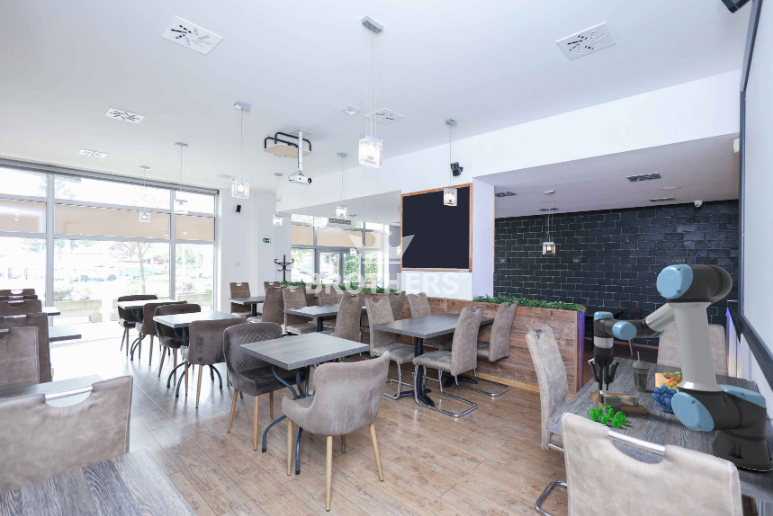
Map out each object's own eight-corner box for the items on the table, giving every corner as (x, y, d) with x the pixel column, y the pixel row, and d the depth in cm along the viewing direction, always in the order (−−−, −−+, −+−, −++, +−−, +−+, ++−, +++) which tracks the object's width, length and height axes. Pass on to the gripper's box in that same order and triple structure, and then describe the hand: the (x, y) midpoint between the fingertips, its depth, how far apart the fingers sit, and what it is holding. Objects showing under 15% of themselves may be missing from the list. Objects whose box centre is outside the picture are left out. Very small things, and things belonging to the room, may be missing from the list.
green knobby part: (593, 411, 165) (593, 396, 165) (632, 422, 155) (632, 405, 155) (582, 422, 155) (582, 405, 155) (623, 434, 144) (623, 416, 144)
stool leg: (636, 403, 166) (636, 396, 166) (640, 406, 163) (640, 399, 163) (598, 400, 169) (598, 393, 169) (601, 403, 166) (601, 396, 166)
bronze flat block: (647, 416, 160) (647, 399, 160) (606, 413, 162) (606, 398, 162) (624, 399, 179) (624, 384, 179) (587, 397, 181) (587, 383, 181)
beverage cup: (651, 393, 187) (652, 353, 187) (635, 392, 189) (635, 352, 189) (644, 388, 194) (645, 350, 194) (629, 387, 196) (629, 349, 196)
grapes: (652, 413, 163) (652, 386, 163) (650, 407, 169) (651, 381, 169) (685, 419, 157) (686, 391, 157) (683, 413, 163) (683, 386, 163)
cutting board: (716, 403, 176) (716, 387, 176) (655, 393, 189) (655, 378, 189) (707, 383, 204) (707, 369, 204) (655, 375, 218) (655, 362, 218)
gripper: (614, 344, 173) (614, 394, 173) (585, 343, 174) (584, 393, 174) (622, 348, 165) (622, 401, 165) (591, 347, 167) (591, 399, 167)
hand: (603, 397), depth 170 cm, fingers closed
